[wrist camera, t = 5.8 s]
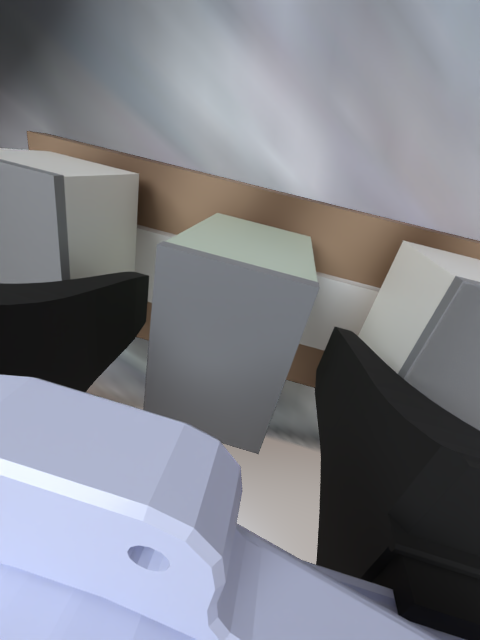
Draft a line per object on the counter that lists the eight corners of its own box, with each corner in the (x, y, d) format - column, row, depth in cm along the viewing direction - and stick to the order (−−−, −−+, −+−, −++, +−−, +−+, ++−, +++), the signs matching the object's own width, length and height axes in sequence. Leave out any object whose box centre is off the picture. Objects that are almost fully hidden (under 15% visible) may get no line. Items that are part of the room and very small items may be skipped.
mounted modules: (508, 265, 12) (635, 325, 7) (408, 414, 15) (452, 512, 11) (48, 149, 13) (-85, 140, 8) (62, 315, 17) (-24, 369, 12)
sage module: (311, 236, 12) (319, 288, 7) (272, 354, 15) (258, 454, 10) (217, 212, 13) (156, 244, 7) (196, 332, 15) (142, 419, 10)
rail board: (524, 252, 13) (555, 264, 11) (420, 404, 17) (432, 428, 16) (47, 133, 14) (15, 129, 13) (61, 303, 18) (38, 315, 17)
